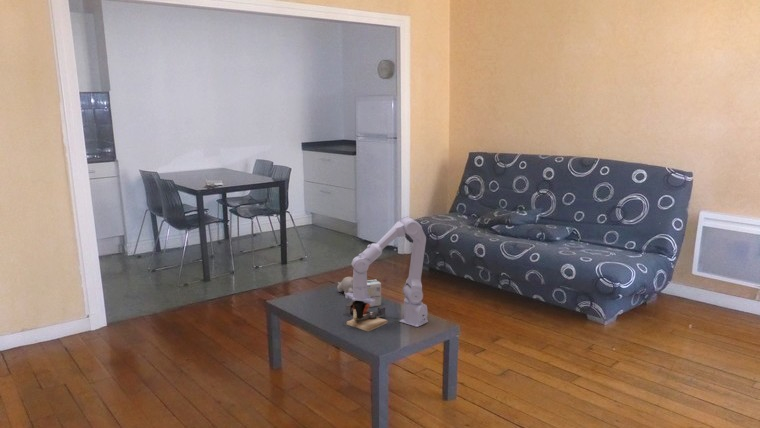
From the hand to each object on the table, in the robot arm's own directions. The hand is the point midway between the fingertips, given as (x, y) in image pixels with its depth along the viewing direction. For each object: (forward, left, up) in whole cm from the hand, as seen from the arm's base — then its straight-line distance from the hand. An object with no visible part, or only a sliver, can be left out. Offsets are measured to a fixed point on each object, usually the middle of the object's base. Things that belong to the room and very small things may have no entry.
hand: (360, 318), depth 233 cm
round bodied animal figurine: (+33, -27, -4) cm, 43 cm away
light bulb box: (+15, -22, -4) cm, 27 cm away
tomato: (+9, -11, -4) cm, 15 cm away
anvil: (+13, -9, -4) cm, 16 cm away
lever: (+1, -7, -2) cm, 7 cm away
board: (0, -4, -4) cm, 5 cm away
